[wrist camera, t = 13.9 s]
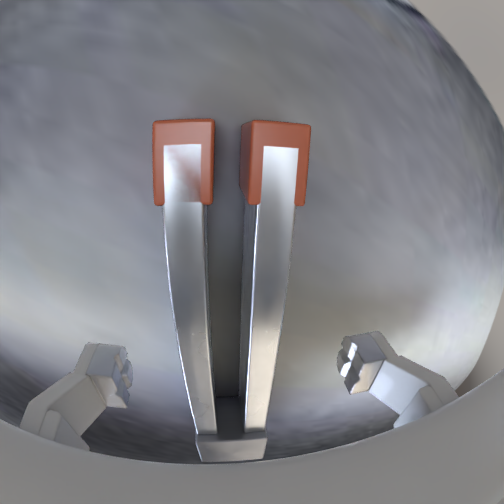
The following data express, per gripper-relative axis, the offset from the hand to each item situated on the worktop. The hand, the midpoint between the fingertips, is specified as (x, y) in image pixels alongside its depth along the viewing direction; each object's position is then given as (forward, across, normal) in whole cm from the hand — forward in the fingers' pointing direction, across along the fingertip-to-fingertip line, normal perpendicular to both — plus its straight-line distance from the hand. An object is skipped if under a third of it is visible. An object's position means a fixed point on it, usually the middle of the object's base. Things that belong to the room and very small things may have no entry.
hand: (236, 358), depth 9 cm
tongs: (+2, 0, 0) cm, 2 cm away
